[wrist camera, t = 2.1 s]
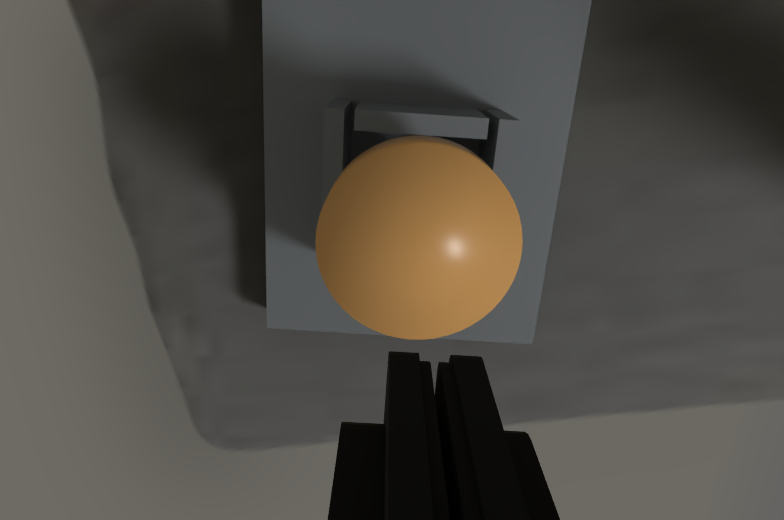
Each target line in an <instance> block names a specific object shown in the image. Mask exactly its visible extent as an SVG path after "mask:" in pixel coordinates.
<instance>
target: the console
mask: <svg viewBox="0 0 784 520" xmlns="http://www.w3.org/2000/svg"><path fill="white" fill-rule="evenodd" d="M591 3H592V0H262V37H263V103H264V170H265V236H266V303H267V328H275V329H291V330H307V331H324V332H340V333H356V334H373V335H385V334H382V333H379V332H377V331H374V330H372V329H370V328H368V327H366V326H364V325H362V324H361V323H360V322H358V321H357V320H355V319H354V318H352V317H351V316H350V315H349V314H348V313H347V312H345V311H344V310H343V309H342V308H341V306H340V305H339V304H338V303H337V302H336V301H335V299H334V298H333V296H332V295H331V293H330V292H329V291H328V289H327V287H326V285H325V283H324V281H323V279H322V276H321V273H320V270H319V267H318V262H317V257H316V244H315V240H316V228H317V224H318V220H319V215H320V213H321V210H322V208H323V205H324V203H325V200H326V198H327V196H328V194H329V192H330V190H331V188H332V186H333V185H334V183H335V181H336V179H337V178H338V176H339V175H340V174H341V172H342V171H343V170H344V169H345V168H346V167H347V165H348V164H349V163H350V162H351V161H352V160H354V159H355V158H356V157H357V156H359V155H360V154H361V153H363V152H364V151H366V150H368V149H369V148H371V147H373V146H375V145H377V144H379V143H382V142H384V141H387V140H390V139H394V138H398V137H404V136H412V135H425V136H432V137H439V138H443V139H446V140H450V141H452V142H455V143H457V144H460V145H462V146H464V147H465V148H467V149H469V150H470V151H472V152H474V153H475V154H476V155H477V156H479V157H480V158H481V159H482V160H484V161H485V162H486V164H487V165H488V166H489V167H490V168H491V169H492V170H493V171H494V172H495V174H496V175H497V176H498V177H499V179H500V180H501V181H502V183H503V184H504V185H505V187H506V188H507V190H508V191H509V193H510V195H511V197H512V199H513V200H514V202H515V205H516V208H517V210H518V213H519V216H520V221H521V226H522V239H523V244H522V255H521V259H520V264H519V268H518V270H517V273H516V276H515V278H514V280H513V282H512V284H511V286H510V288H509V290H508V291H507V293H506V294H505V296H504V297H503V298H502V300H501V301H500V302H499V303H498V304H497V305H496V306H495V308H494V309H493V310H492V311H490V312H489V313H488V314H487V315H486V316H485V317H483V318H482V319H481V320H479V321H478V322H476V323H475V324H473V325H471V326H469V327H467V328H465V329H463V330H461V331H459V332H456V333H453V334H451V335H447V336H443V337H439V338H438V339H454V340H470V341H487V342H503V343H519V344H533V339H534V334H535V328H536V322H537V316H538V310H539V304H540V299H541V293H542V287H543V281H544V275H545V270H546V264H547V258H548V252H549V246H550V241H551V235H552V229H553V223H554V217H555V212H556V206H557V200H558V194H559V188H560V183H561V177H562V171H563V165H564V159H565V154H566V148H567V142H568V136H569V130H570V125H571V119H572V113H573V107H574V101H575V96H576V90H577V84H578V78H579V72H580V67H581V61H582V55H583V49H584V43H585V38H586V32H587V26H588V20H589V14H590V9H591Z"/></svg>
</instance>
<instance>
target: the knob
mask: <svg viewBox="0 0 784 520" xmlns="http://www.w3.org/2000/svg"><path fill="white" fill-rule="evenodd" d="M315 244H316V257H317V262H318V267H319V270H320V273H321V276H322V279H323V281H324V283H325V285H326V287H327V289H328V291H329V292H330V293H331V295H332V296H333V298H334V299H335V301H336V302H337V303H338V304H339V305H340V306H341V308H342V309H343V310H344V311H345V312H347V313H348V314H349V315H350V316H351V317H352V318H354V319H355V320H357V321H358V322H360V323H361V324H362V325H364V326H366V327H368V328H370V329H372V330H374V331H377V332H379V333H382V334H385V335H388V336H392V337H396V338H403V339H423V340H424V339H432V338H439V337H443V336H447V335H451V334H453V333H456V332H459V331H461V330H463V329H465V328H467V327H469V326H471V325H473V324H475V323H476V322H478V321H479V320H481V319H482V318H483V317H485V316H486V315H487V314H488V313H489V312H490V311H492V310H493V309H494V308H495V306H496V305H497V304H498V303H499V302H500V301H501V300H502V298H503V297H504V296H505V294H506V293H507V291H508V290H509V288H510V286H511V284H512V282H513V280H514V278H515V276H516V273H517V270H518V268H519V264H520V259H521V255H522V244H523V239H522V226H521V221H520V216H519V213H518V210H517V208H516V205H515V202H514V200H513V199H512V197H511V195H510V193H509V191H508V190H507V188H506V187H505V185H504V184H503V183H502V181H501V180H500V179H499V177H498V176H497V175H496V174H495V172H494V171H493V170H492V169H491V168H490V167H489V166H488V165H487V164H486V162H485V161H484V160H482V159H481V158H480V157H479V156H477V155H476V154H475V153H474V152H472V151H470V150H469V149H467V148H465V147H464V146H462V145H460V144H457V143H455V142H452V141H450V140H446V139H443V138H439V137H432V136H425V135H412V136H404V137H398V138H394V139H390V140H387V141H384V142H382V143H379V144H377V145H375V146H373V147H371V148H369V149H368V150H366V151H364V152H363V153H361V154H360V155H359V156H357V157H356V158H355V159H354V160H352V161H351V162H350V163H349V164H348V165H347V167H346V168H345V169H344V170H343V171H342V172H341V174H340V175H339V176H338V178H337V179H336V181H335V183H334V185H333V186H332V188H331V190H330V192H329V194H328V196H327V198H326V200H325V203H324V205H323V208H322V210H321V213H320V215H319V220H318V224H317V228H316V240H315Z"/></svg>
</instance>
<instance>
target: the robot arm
mask: <svg viewBox="0 0 784 520" xmlns="http://www.w3.org/2000/svg"><path fill="white" fill-rule="evenodd" d="M328 520H560V518H559V516H558V513H557V510H556V507H555V505H554V502H553V499H552V496H551V494H550V491H549V488H548V485H547V482H546V480H545V477H544V474H543V471H542V469H541V466H540V463H539V461H538V458H537V455H536V452H535V450H534V447H533V444H532V441H531V439H530V437H529V435H528V434H527V433H526V432H519V431H504V430H503V426H502V423H501V419H500V416H499V413H498V409H497V406H496V403H495V399H494V396H493V393H492V389H491V386H490V382H489V379H488V376H487V372H486V369H485V366H484V362H483V359H482V357H478V356H461V355H451V356H450V359H449V363H445V362H439V364H438V370H437V379H436V388H435V395H434V387H433V379H432V371H431V364H430V362H428V361H420V359H419V353H409V352H392V351H389V356H388V370H387V384H386V398H385V412H384V424H373V423H355V422H342V423H341V429H340V436H339V443H338V450H337V458H336V465H335V473H334V479H333V486H332V493H331V501H330V507H329V515H328Z"/></svg>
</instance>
